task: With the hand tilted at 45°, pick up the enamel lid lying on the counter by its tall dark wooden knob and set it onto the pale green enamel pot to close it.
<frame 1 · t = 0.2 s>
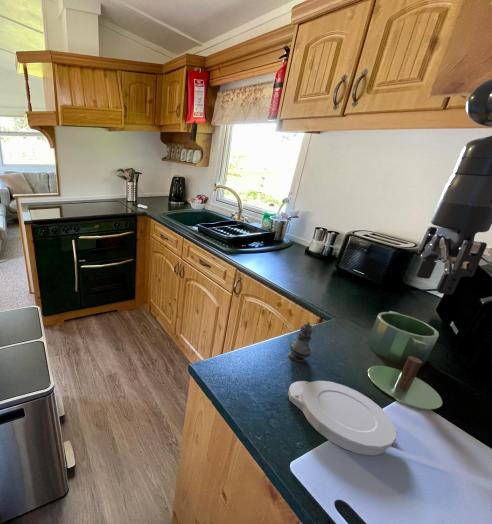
hand: (431, 284, 57), 32 cm above the countertop, tool pointing down, fingers open, 8 cm apart
lid: (334, 416, 64), on the countertop
grey chess piece: (297, 358, 83), on the countertop
pot: (393, 353, 88), on the countertop
pot lid: (402, 386, 74), point 1 cm above the countertop
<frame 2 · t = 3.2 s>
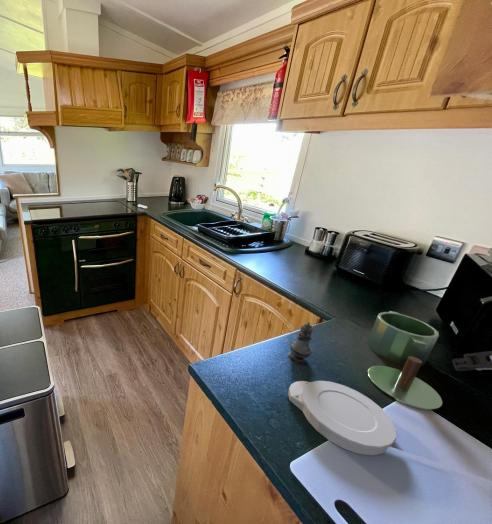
hand: (476, 367, 58), 16 cm above the countertop, tool tilted 45°, fingers open, 8 cm apart
nothing on the countertop moved.
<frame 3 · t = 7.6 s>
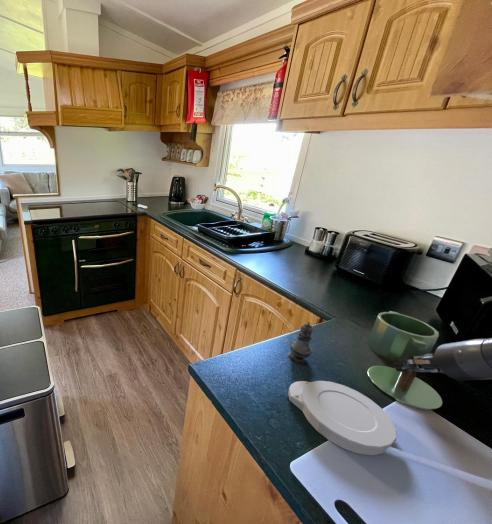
hand: (402, 367, 74), 5 cm above the countertop, tool tilted 45°, fingers closed on pot lid, 2 cm apart
pot lid: (402, 386, 74), point 1 cm above the countertop, touching gripper
everything else where it was.
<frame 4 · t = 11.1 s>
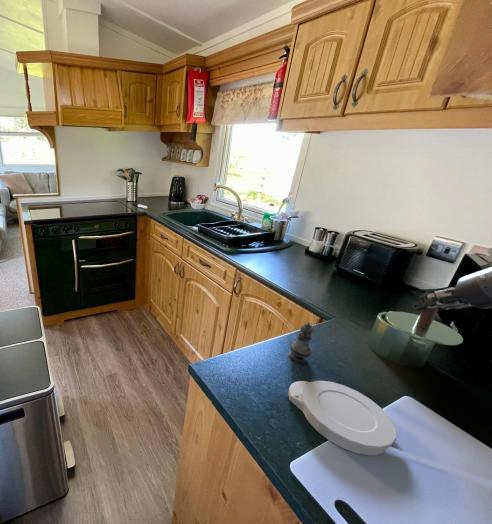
hand: (421, 308, 74), 20 cm above the countertop, tool tilted 45°, fingers closed on pot lid, 2 cm apart
pot lid: (421, 327, 74), point 15 cm above the countertop, touching gripper
everything else where it was.
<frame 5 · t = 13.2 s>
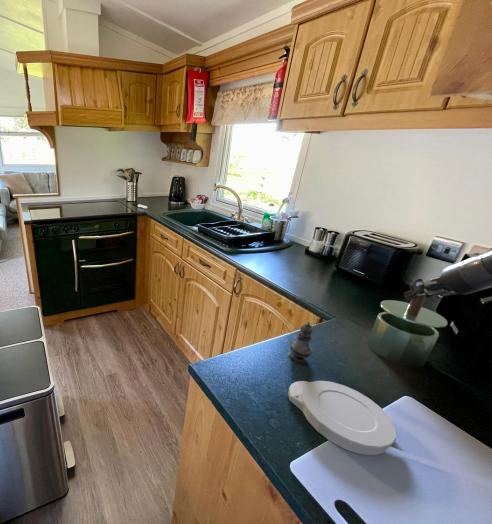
hand: (411, 296, 84), 18 cm above the countertop, tool tilted 45°, fingers closed on pot lid, 2 cm apart
pot lid: (411, 313, 83), point 14 cm above the countertop, touching gripper
everything else where it was.
when the fingers open (15 cm above the countertop, at t = 14.5 s): pot lid stays where it is, resting on pot.
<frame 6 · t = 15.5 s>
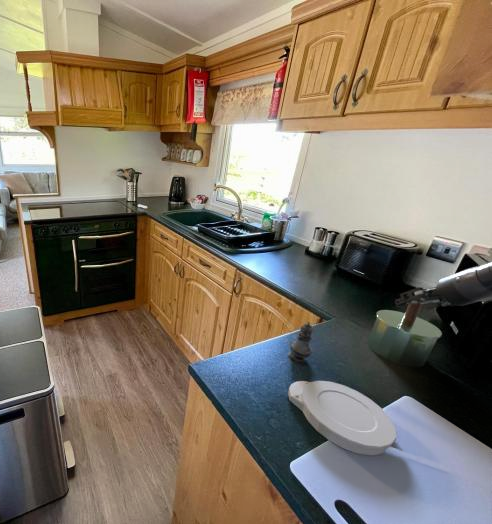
hand: (411, 304, 84), 16 cm above the countertop, tool tilted 45°, fingers open, 8 cm apart
pot lid: (406, 323, 85), point 10 cm above the countertop, touching pot
everything else where it was.
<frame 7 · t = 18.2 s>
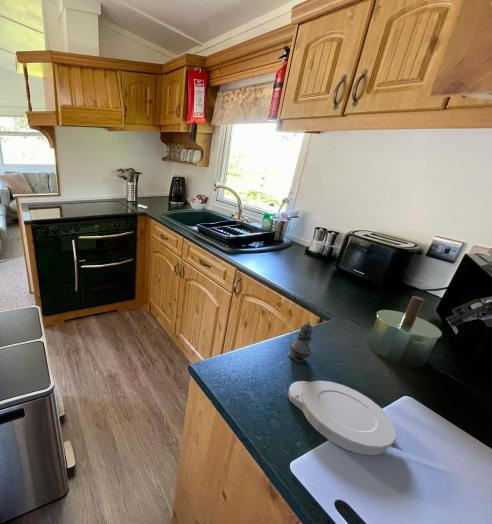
hand: (467, 322, 70), 19 cm above the countertop, tool tilted 35°, fingers open, 8 cm apart
nothing on the countertop moved.
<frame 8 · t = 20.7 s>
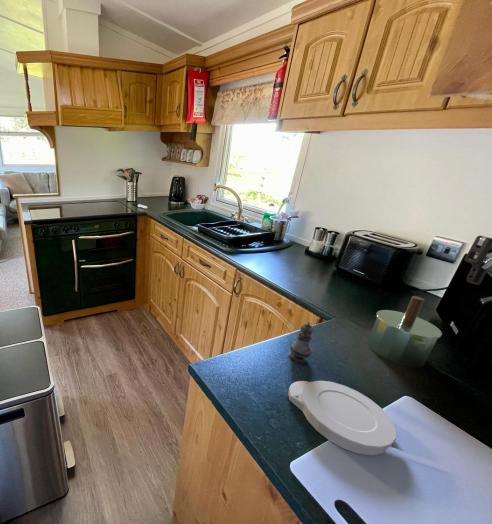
hand: (491, 284, 63), 30 cm above the countertop, tool pointing down, fingers open, 8 cm apart
nothing on the countertop moved.
at the end: pot lid 0.1 cm off-centre on the pot, point 10.5 cm above the pot's base; pot lid tilted 0° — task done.
